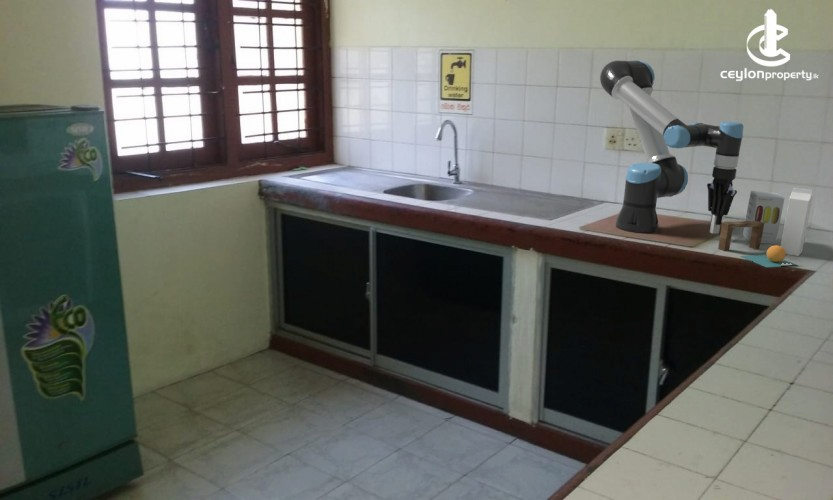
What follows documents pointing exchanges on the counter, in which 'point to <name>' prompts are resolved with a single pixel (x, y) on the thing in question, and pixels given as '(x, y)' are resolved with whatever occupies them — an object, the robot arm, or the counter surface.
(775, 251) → the ball
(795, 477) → the counter surface
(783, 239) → the milk
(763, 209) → the supplement box
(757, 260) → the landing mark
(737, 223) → the bridge
